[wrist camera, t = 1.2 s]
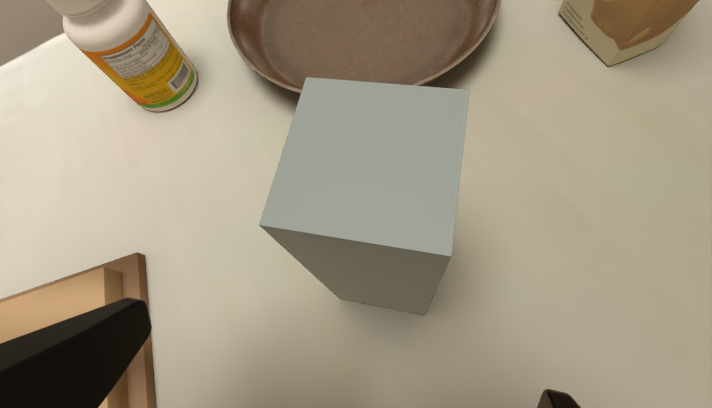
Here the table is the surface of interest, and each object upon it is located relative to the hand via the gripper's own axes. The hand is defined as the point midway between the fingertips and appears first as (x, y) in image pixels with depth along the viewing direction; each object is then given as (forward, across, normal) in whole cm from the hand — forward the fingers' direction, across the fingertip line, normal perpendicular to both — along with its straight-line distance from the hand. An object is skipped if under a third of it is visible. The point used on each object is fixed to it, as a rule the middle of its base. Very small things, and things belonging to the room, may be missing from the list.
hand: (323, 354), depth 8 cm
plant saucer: (+27, +6, -8) cm, 29 cm away
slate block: (+13, 0, +6) cm, 14 cm away
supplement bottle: (+21, +20, -2) cm, 30 cm away
